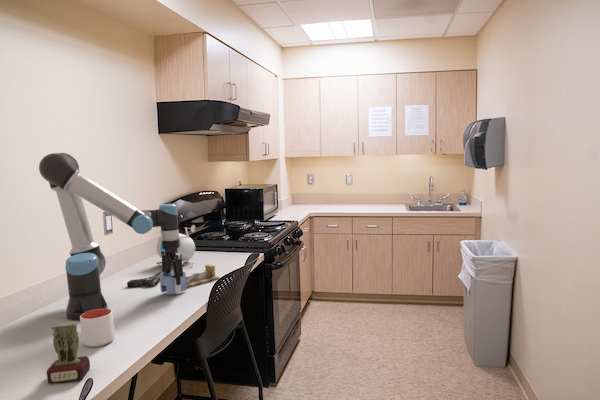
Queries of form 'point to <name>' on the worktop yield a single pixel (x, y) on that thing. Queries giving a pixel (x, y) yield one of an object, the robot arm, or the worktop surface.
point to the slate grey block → (171, 282)
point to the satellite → (181, 246)
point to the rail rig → (201, 277)
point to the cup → (97, 327)
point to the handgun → (145, 281)
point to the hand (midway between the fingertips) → (173, 290)
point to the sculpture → (67, 356)
